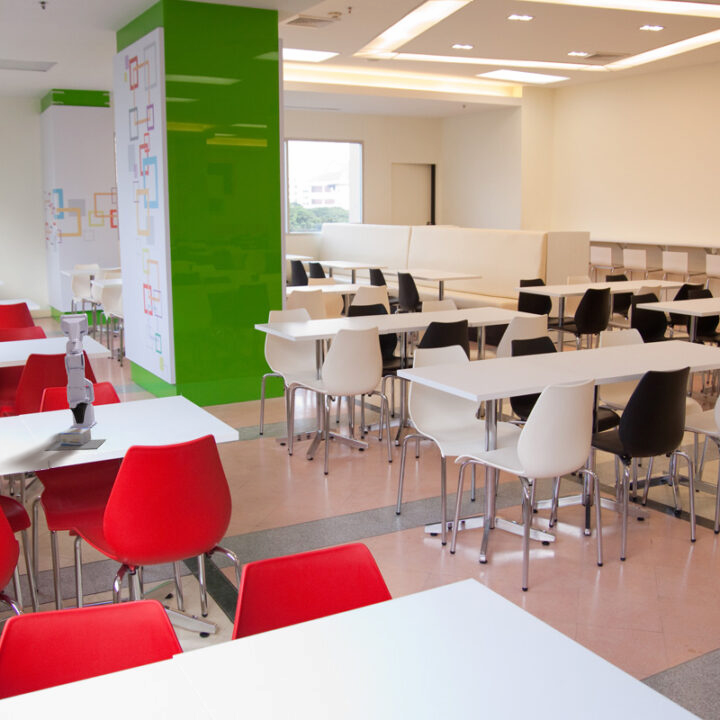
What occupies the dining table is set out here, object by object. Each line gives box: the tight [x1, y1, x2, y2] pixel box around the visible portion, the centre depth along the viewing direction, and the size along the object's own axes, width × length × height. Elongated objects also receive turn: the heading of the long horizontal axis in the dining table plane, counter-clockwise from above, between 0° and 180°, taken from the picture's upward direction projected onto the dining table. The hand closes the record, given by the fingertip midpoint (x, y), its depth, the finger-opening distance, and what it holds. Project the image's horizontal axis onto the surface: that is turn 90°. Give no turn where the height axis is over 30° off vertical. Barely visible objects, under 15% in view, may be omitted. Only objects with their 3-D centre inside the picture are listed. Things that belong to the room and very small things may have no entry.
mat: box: [44, 438, 107, 452], centre depth 297 cm, size 12×18×1 cm, turn 92°
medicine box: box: [59, 427, 92, 445], centre depth 299 cm, size 8×4×9 cm
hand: (80, 423), depth 302 cm, fingers closed
